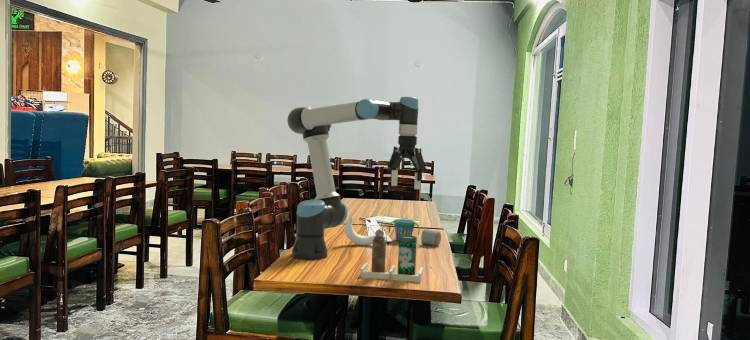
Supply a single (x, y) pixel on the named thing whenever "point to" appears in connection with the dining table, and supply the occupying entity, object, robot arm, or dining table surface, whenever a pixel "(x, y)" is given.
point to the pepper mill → (378, 252)
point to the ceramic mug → (430, 237)
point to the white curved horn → (355, 237)
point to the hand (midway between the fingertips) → (405, 187)
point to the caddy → (390, 274)
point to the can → (407, 255)
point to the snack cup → (403, 227)
